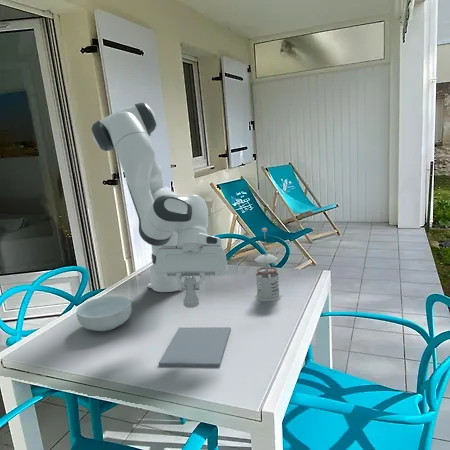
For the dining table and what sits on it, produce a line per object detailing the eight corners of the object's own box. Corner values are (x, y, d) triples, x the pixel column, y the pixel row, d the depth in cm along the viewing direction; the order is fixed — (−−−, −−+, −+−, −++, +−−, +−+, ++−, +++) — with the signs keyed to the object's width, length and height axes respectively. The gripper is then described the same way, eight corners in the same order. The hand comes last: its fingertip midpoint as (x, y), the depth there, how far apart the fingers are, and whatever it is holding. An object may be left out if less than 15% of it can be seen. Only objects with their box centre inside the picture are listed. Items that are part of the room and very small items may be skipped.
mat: (179, 329, 124) (179, 327, 124) (230, 329, 121) (230, 327, 121) (158, 365, 105) (158, 362, 105) (219, 366, 102) (219, 363, 102)
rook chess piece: (192, 300, 114) (190, 273, 113) (203, 304, 111) (201, 276, 110) (180, 305, 111) (178, 277, 110) (190, 309, 108) (188, 281, 107)
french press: (252, 300, 142) (247, 231, 137) (258, 288, 153) (254, 223, 148) (280, 302, 139) (276, 230, 134) (285, 289, 150) (281, 223, 145)
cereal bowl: (82, 343, 120) (78, 321, 119) (76, 323, 135) (73, 303, 134) (138, 329, 127) (136, 308, 126) (127, 310, 142) (125, 291, 141)
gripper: (154, 240, 115) (149, 285, 108) (226, 238, 114) (226, 283, 107) (159, 251, 121) (154, 295, 113) (227, 249, 120) (227, 293, 112)
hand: (190, 289), depth 110 cm, fingers closed on rook chess piece, 3 cm apart
